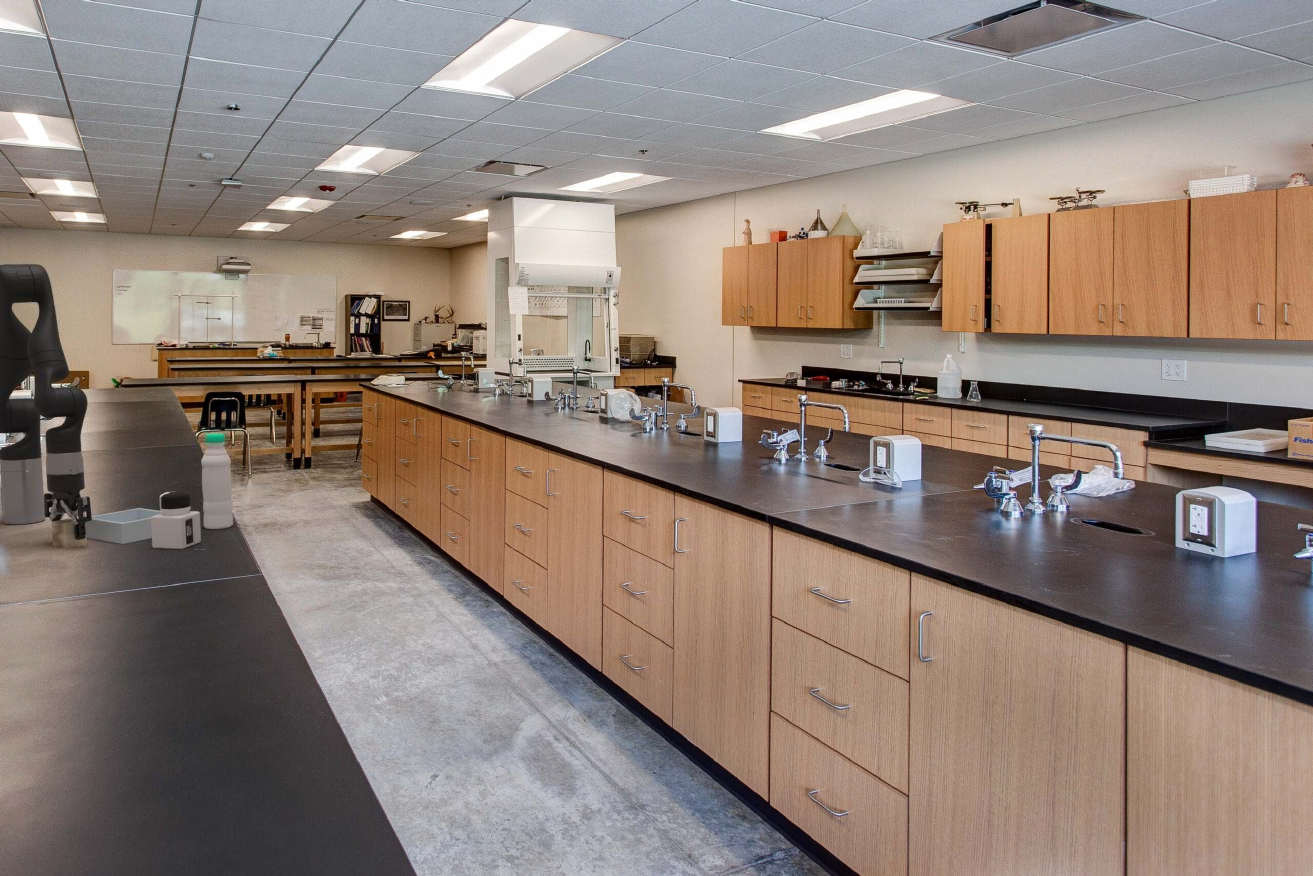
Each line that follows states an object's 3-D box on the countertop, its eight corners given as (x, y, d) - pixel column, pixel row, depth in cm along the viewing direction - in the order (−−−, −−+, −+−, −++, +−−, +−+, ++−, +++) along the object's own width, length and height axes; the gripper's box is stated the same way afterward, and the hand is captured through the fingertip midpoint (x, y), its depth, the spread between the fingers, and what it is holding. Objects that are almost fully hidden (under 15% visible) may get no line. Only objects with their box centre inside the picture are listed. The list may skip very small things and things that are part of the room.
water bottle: (225, 530, 234) (221, 435, 231) (198, 529, 234) (194, 434, 232) (238, 524, 241) (234, 432, 238) (212, 523, 241) (208, 432, 239)
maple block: (52, 546, 214) (51, 521, 213) (73, 542, 219) (72, 518, 218) (65, 548, 212) (64, 523, 211) (86, 544, 216) (85, 520, 216)
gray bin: (83, 537, 223) (82, 517, 223) (140, 526, 237) (139, 508, 236) (123, 544, 217) (121, 523, 216) (178, 532, 230) (177, 513, 230)
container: (201, 542, 220) (199, 490, 219) (182, 549, 213) (179, 495, 211) (172, 541, 221) (169, 489, 220) (151, 548, 213) (149, 494, 212)
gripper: (30, 470, 213) (34, 537, 214) (67, 475, 207) (71, 543, 208) (62, 467, 220) (66, 531, 221) (99, 471, 214) (103, 537, 215)
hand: (69, 537), depth 215 cm, fingers open, 8 cm apart
